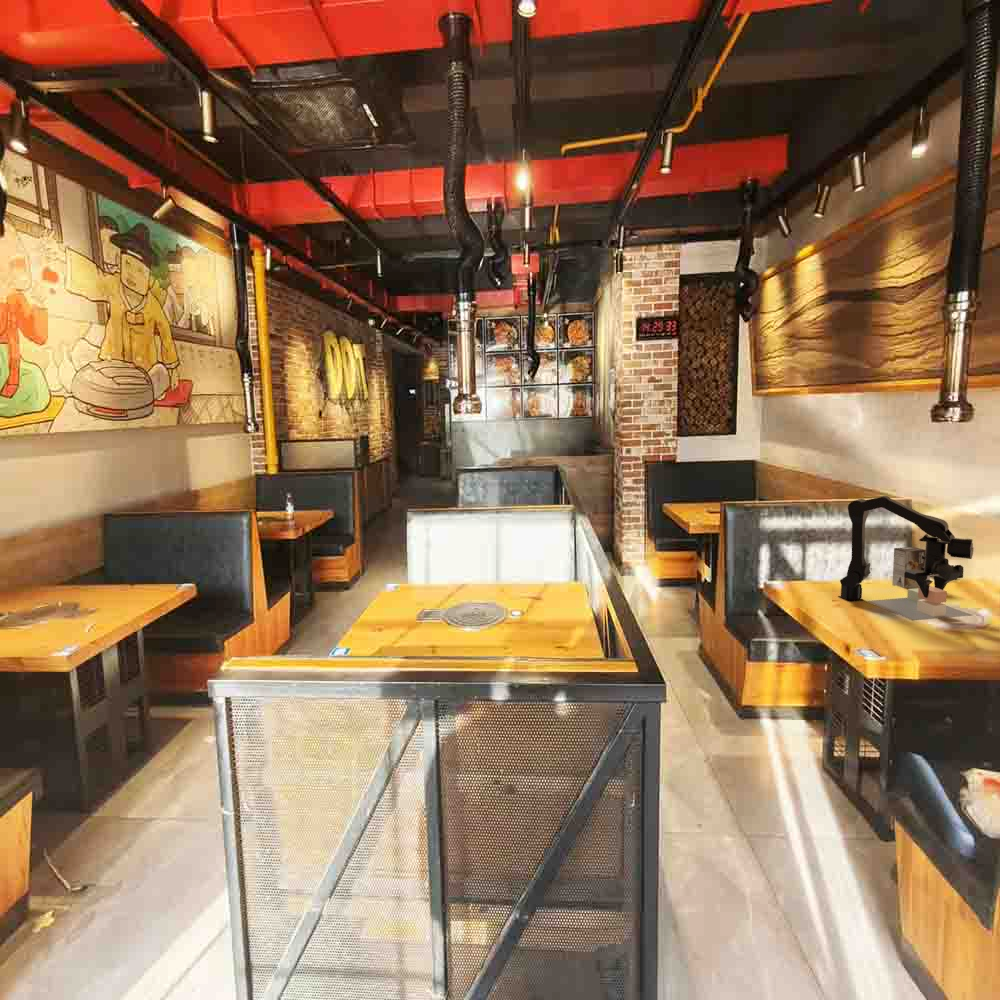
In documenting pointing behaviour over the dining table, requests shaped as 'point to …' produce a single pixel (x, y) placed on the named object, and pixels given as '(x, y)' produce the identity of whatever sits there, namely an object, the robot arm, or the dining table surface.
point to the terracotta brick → (934, 595)
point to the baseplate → (912, 609)
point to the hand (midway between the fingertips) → (931, 596)
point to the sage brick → (913, 595)
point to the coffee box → (906, 565)
